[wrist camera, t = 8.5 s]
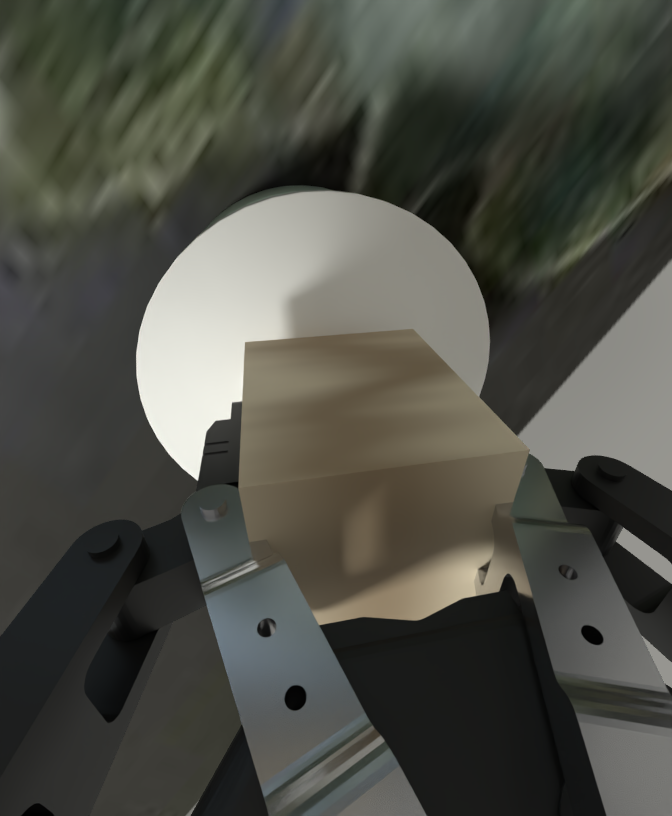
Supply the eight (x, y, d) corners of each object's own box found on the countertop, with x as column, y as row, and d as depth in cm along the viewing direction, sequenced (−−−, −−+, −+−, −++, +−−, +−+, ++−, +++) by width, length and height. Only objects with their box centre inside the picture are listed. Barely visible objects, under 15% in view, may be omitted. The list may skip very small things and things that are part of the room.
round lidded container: (440, 184, 18) (534, 198, 12) (404, 415, 24) (452, 497, 18) (146, 173, 15) (84, 183, 10) (194, 430, 22) (174, 527, 16)
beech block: (413, 328, 12) (529, 449, 7) (400, 457, 15) (478, 613, 10) (244, 342, 11) (238, 487, 6) (264, 475, 14) (270, 652, 9)
